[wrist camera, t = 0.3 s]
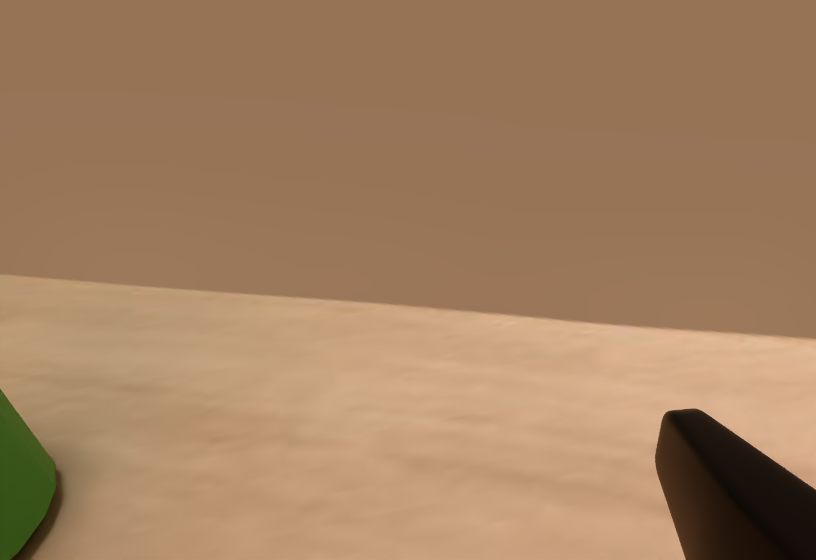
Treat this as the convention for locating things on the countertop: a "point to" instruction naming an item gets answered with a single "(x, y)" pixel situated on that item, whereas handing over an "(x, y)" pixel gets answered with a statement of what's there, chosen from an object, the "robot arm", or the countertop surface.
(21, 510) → the bottle
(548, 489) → the countertop surface
